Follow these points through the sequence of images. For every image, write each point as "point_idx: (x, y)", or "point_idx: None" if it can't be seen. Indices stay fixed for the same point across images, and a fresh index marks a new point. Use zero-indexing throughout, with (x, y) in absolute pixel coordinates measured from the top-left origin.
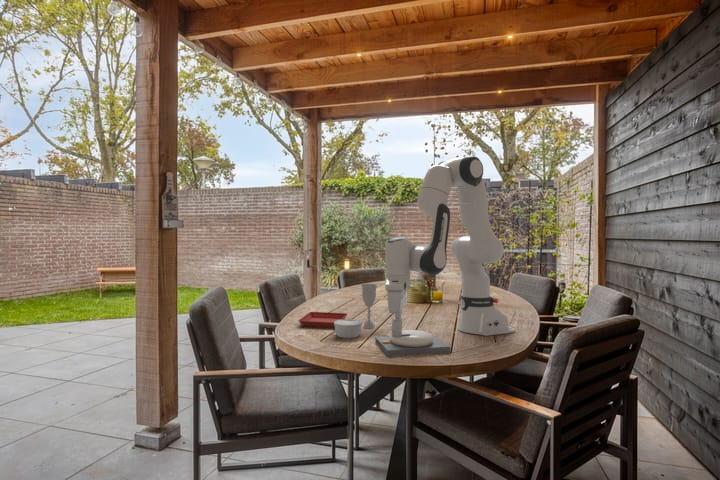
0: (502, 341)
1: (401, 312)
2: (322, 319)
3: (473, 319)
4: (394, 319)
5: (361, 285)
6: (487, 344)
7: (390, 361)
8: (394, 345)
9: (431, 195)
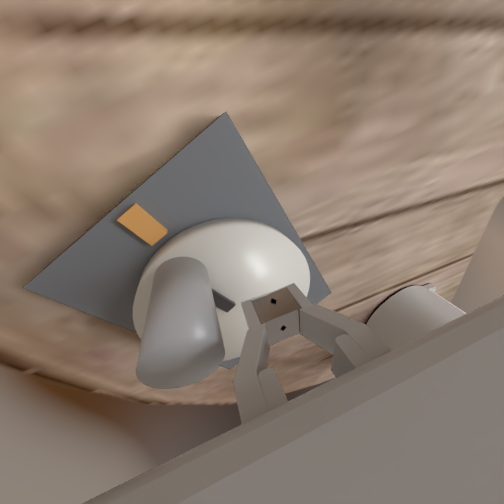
0: (327, 363)
1: (322, 343)
2: None
3: (398, 346)
4: (161, 361)
5: None
6: (306, 360)
7: None
8: (133, 272)
9: None
